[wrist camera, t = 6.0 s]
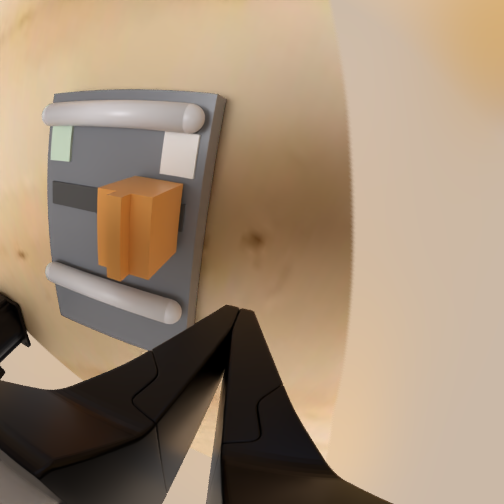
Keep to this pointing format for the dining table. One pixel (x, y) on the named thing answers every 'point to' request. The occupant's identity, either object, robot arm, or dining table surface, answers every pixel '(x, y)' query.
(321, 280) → the dining table surface
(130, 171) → the switch panel
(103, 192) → the breaker handle
